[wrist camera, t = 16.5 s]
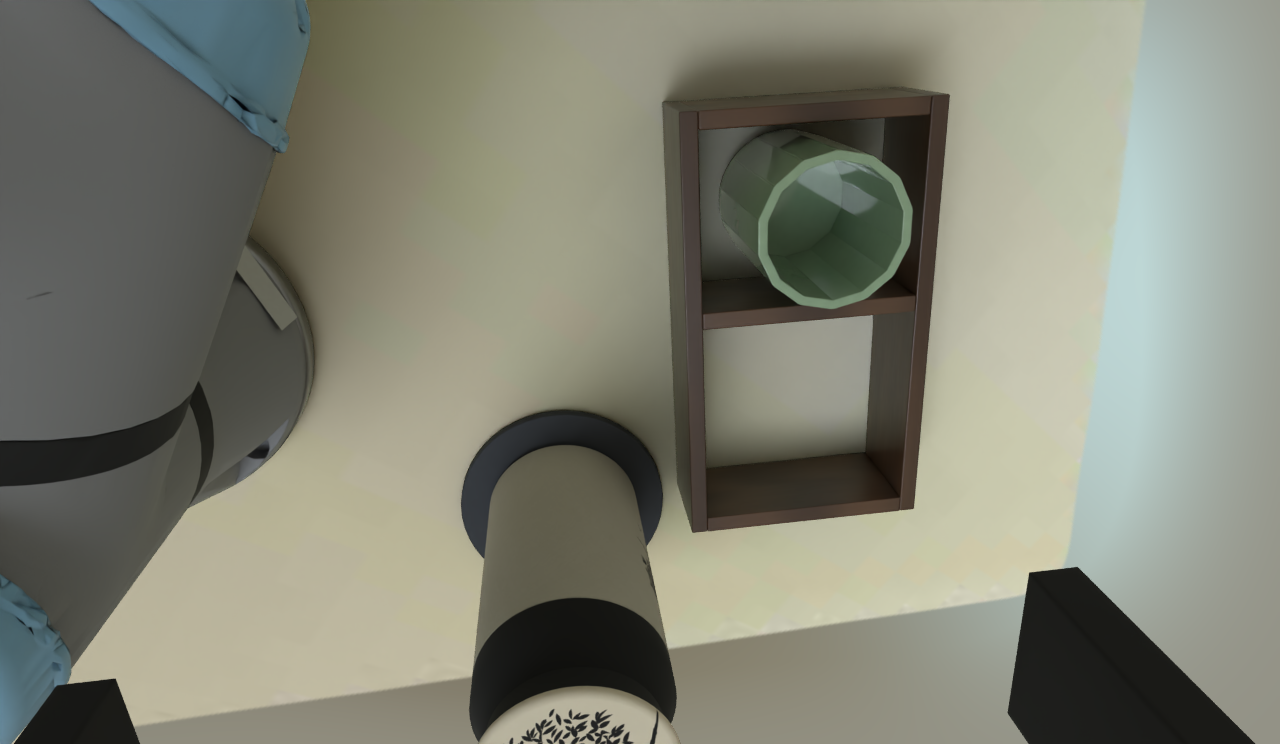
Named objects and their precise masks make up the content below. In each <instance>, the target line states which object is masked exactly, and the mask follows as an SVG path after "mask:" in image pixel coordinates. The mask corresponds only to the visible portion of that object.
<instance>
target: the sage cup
mask: <svg viewBox="0 0 1280 744" xmlns="http://www.w3.org/2000/svg"><path fill="white" fill-rule="evenodd" d="M719 209H720V214H721V219H722V221H723V224H724V227H725V228H726V230H727V232H728V234H729V235H730V237H731V238H732V240H733V242H734V244H735V245H736V246H737V247H738V248H739V249H740V250H741V252H742V253H743V254H744V255H745V256H746V257H747V258H748V259H749V260H750V261H751V262H752V263H753V265H754V266H755V267H756V268H757V269H758V270H759V271H760V272H761V273H762V274H763V275H764V277H765V278H766V279H767V280H768V281H769V282H770V283H771V284H772V285H773V286H774V287H775V288H776V289H778V290H779V291H781V292H782V293H784V294H785V295H786V296H788V297H789V298H791V299H792V300H793V301H795V302H796V303H798V304H800V305H805V306H812V307H819V308H826V309H835V308H838V307H842V306H845V305H848V304H851V303H855V302H858V301H861V300H864V299H866V298H868V297H869V296H870V295H871V294H872V293H874V292H875V291H876V290H877V289H878V288H880V287H881V286H882V285H883V284H884V283H886V282H887V281H888V280H889V279H890V278H892V277H893V275H894V274H895V272H896V270H897V268H898V266H899V264H900V262H901V261H902V259H903V257H904V255H905V253H906V251H907V249H908V247H909V245H910V241H911V227H912V214H913V209H912V205H911V203H910V200H909V198H908V195H907V193H906V190H905V188H904V185H903V183H902V181H901V178H900V177H899V176H898V175H897V174H896V173H895V172H893V171H892V170H891V169H890V168H888V167H887V166H886V165H885V164H883V163H882V162H881V161H880V160H879V159H877V158H876V157H875V156H873V155H870V154H868V153H865V152H862V151H860V150H857V149H854V148H852V147H849V146H846V145H844V144H841V143H838V142H836V141H833V140H830V139H828V138H825V137H822V136H820V135H817V134H813V133H807V132H803V131H799V130H790V129H786V130H777V131H772V132H769V133H766V134H763V135H761V136H759V137H757V138H755V139H754V140H752V141H750V142H749V143H748V144H746V145H745V146H744V147H743V148H742V149H741V150H740V151H739V152H738V153H737V154H736V155H735V157H734V158H733V159H732V160H731V162H730V164H729V165H728V167H727V169H726V171H725V174H724V176H723V179H722V182H721V186H720V192H719Z"/></svg>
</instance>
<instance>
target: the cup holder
mask: <svg viewBox="0 0 1280 744" xmlns="http://www.w3.org/2000/svg"><path fill="white" fill-rule="evenodd" d="M949 98H950V95H949V94H945V93H938V92H932V91H925V90H919V89H912V88H906V87H892V88H877V89H861V90H846V91H830V92H814V93H799V94H783V95H767V96H751V97H736V98H720V99H704V100H689V101H680V102H679V101H673V102H663V103H662V108H663V133H664V159H665V184H666V210H667V235H668V260H669V286H670V311H671V337H672V362H673V388H674V413H675V439H676V464H677V484H678V487H679V491H680V494H681V497H682V500H683V504H684V507H685V510H686V513H687V517H688V520H689V523H690V526H691V530H692V532H693V533H695V532H704V531H707V530H708V531H715V530H724V529H733V528H743V527H752V526H761V525H770V524H780V523H789V522H798V521H807V520H817V519H826V518H835V517H844V516H854V515H863V514H872V513H881V512H891V511H899V510H907V509H914V501H915V489H916V478H917V466H918V455H919V443H920V432H921V420H922V409H923V397H924V386H925V374H926V363H927V351H928V340H929V328H930V317H931V305H932V294H933V282H934V271H935V259H936V248H937V236H938V225H939V213H940V202H941V190H942V179H943V167H944V156H945V144H946V133H947V121H948V110H949ZM874 118H885V135H884V152H883V164H885V165H886V166H887V167H888V168H890V169H891V170H892V171H893V172H895V173H896V174H897V175H898V176H899V177H900V178H901V181H902V183H903V185H904V188H905V190H906V193H907V195H908V198H909V200H910V203H911V205H912V209H913V214H912V227H911V241H910V245H909V247H908V249H907V251H906V253H905V255H904V257H903V259H902V261H901V262H900V264H899V266H898V268H897V270H896V272H895V274H894V275H893V277H892V278H890V279H889V280H888V281H887V282H886V283H884V284H883V285H882V286H881V287H880V288H878V289H877V290H876V291H875V292H874V293H872V294H871V295H870V296H869V297H868V298H866V299H864V300H861V301H858V302H855V303H851V304H848V305H845V306H842V307H838V308H835V309H826V308H819V307H812V306H805V305H800V304H798V303H796V302H795V301H793V300H792V299H791V298H789V297H788V296H786V295H785V294H784V293H782V292H781V291H779V290H778V289H776V288H775V287H774V286H773V285H772V284H771V283H770V282H769V281H768V280H767V279H766V278H765V277H754V278H742V279H730V280H718V281H706V282H702V271H701V229H700V187H699V145H698V129H699V130H710V129H725V128H740V127H755V126H770V125H785V124H800V123H815V122H830V121H845V120H860V119H874ZM867 315H874V320H873V337H872V354H871V371H870V387H869V404H868V421H867V438H866V453H855V454H845V455H835V456H825V457H815V458H806V459H796V460H786V461H776V462H766V463H756V464H746V465H737V466H727V467H717V468H707V469H706V439H705V397H704V355H703V329H704V330H707V329H718V328H730V327H741V326H752V325H764V324H775V323H787V322H798V321H810V320H821V319H833V318H844V317H855V316H867Z"/></svg>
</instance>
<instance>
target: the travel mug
mask: <svg viewBox="0 0 1280 744" xmlns="http://www.w3.org/2000/svg"><path fill="white" fill-rule="evenodd" d="M676 699H677V697H676V686H675V681H674V676H673V672H672V667H671V662H670V658H669V653H668V648H667V643H666V638H665V633H664V629H663V624H662V619H661V614H660V610H659V605H658V600H657V595H656V590H655V586H654V581H653V576H652V571H651V567H650V562H649V557H648V552H647V547H646V543H645V538H644V533H643V528H642V524H641V519H640V514H639V509H638V505H637V500H636V495H635V491H634V488H633V485H632V483H631V481H630V479H629V478H628V476H627V474H626V473H625V472H624V470H623V469H622V468H621V467H620V466H619V465H618V464H617V463H616V462H614V461H613V460H612V459H610V458H609V457H607V456H606V455H604V454H602V453H600V452H598V451H595V450H592V449H590V448H586V447H581V446H575V445H557V446H550V447H545V448H542V449H538V450H536V451H533V452H531V453H529V454H527V455H525V456H523V457H522V458H520V459H518V460H517V461H516V462H514V463H513V464H512V465H511V466H510V467H509V468H508V469H507V470H506V471H505V472H504V473H503V474H502V476H501V477H500V479H499V480H498V482H497V484H496V486H495V488H494V490H493V493H492V496H491V501H490V509H489V518H488V528H487V538H486V548H485V558H484V567H483V577H482V587H481V597H480V607H479V617H478V626H477V636H476V646H475V656H474V666H473V676H472V685H471V695H470V707H469V712H470V721H471V726H472V729H473V732H474V734H475V736H476V738H477V740H478V742H479V743H478V744H680V740H679V738H678V736H677V733H676V731H675V730H674V728H673V726H672V725H671V722H672V720H673V717H674V713H675V708H676Z"/></svg>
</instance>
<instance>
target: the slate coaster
mask: <svg viewBox="0 0 1280 744" xmlns="http://www.w3.org/2000/svg"><path fill="white" fill-rule="evenodd" d="M557 445H575V446H581V447H586V448H590V449H592V450H595V451H598V452H600V453H602V454H604V455H606V456H607V457H609V458H610V459H612V460H613V461H614V462H616V463H617V464H618V465H619V466H620V467H621V468H622V469H623V470H624V472H625V473H626V474H627V476H628V478H629V479H630V481H631V483H632V485H633V488H634V491H635V495H636V500H637V505H638V509H639V514H640V519H641V524H642V528H643V533H644V538H645V543H646V546H647V545H648V543H649V542H650V540H651V539H652V537H653V535H654V533H655V531H656V529H657V526H658V523H659V520H660V517H661V511H662V501H663V493H662V485H661V481H660V477H659V474H658V470H657V467H656V465H655V463H654V461H653V458H652V457H651V455H650V454H649V452H648V451H647V449H646V448H645V447H644V445H643V444H642V443H641V442H640V441H639V440H638V439H637V438H636V437H635V436H634V435H633V434H632V433H630V432H629V431H628V430H626V429H625V428H623V427H622V426H620V425H619V424H617V423H615V422H613V421H611V420H609V419H606V418H603V417H600V416H598V415H595V414H590V413H585V412H579V411H551V412H544V413H539V414H536V415H532V416H528V417H526V418H523V419H521V420H518V421H516V422H514V423H512V424H510V425H509V426H507V427H505V428H503V429H502V430H501V431H499V432H498V433H497V434H495V435H494V436H493V437H492V438H491V439H490V440H489V441H488V442H487V443H486V444H484V445H483V447H482V448H481V449H480V451H479V452H478V453H477V454H476V456H475V458H474V459H473V461H472V463H471V465H470V467H469V469H468V472H467V474H466V477H465V481H464V485H463V490H462V499H461V509H462V518H463V522H464V526H465V529H466V532H467V534H468V536H469V539H470V540H471V542H472V544H473V545H474V547H475V548H476V550H477V551H478V552H479V554H480V555H481V556H482V557H483V558H485V548H486V538H487V528H488V518H489V509H490V501H491V496H492V493H493V490H494V488H495V486H496V484H497V482H498V480H499V479H500V477H501V476H502V474H503V473H504V472H505V471H506V470H507V469H508V468H509V467H510V466H511V465H512V464H513V463H514V462H516V461H517V460H518V459H520V458H522V457H523V456H525V455H527V454H529V453H531V452H533V451H536V450H538V449H542V448H545V447H550V446H557Z"/></svg>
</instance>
